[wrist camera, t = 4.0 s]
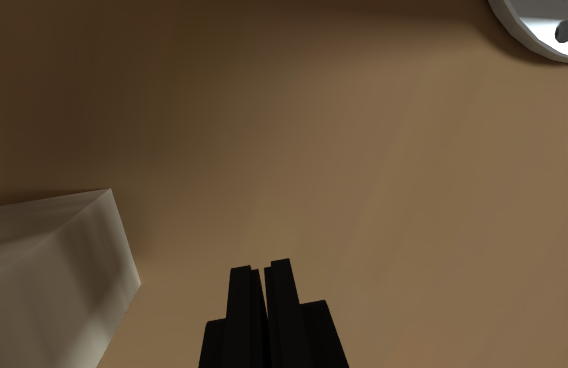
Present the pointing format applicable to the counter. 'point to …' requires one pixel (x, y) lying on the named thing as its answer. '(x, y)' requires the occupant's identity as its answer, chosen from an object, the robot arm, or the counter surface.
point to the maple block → (62, 280)
